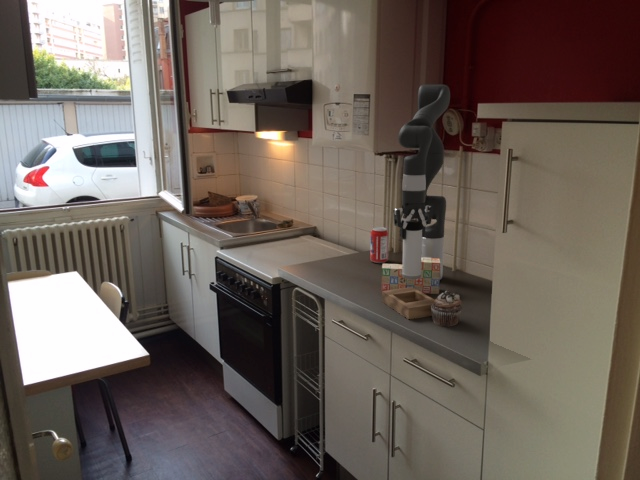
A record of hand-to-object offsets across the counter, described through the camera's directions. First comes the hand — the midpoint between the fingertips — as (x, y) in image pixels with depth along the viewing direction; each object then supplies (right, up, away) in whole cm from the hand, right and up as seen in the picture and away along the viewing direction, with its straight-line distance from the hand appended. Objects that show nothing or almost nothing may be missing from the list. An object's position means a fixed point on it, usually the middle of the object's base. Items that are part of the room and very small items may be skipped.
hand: (412, 237), depth 183 cm
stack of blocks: (+3, -20, +24) cm, 31 cm away
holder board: (0, -24, +6) cm, 25 cm away
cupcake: (+10, -27, -6) cm, 30 cm away
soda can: (-4, -11, +62) cm, 63 cm away
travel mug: (0, -13, +3) cm, 14 cm away
